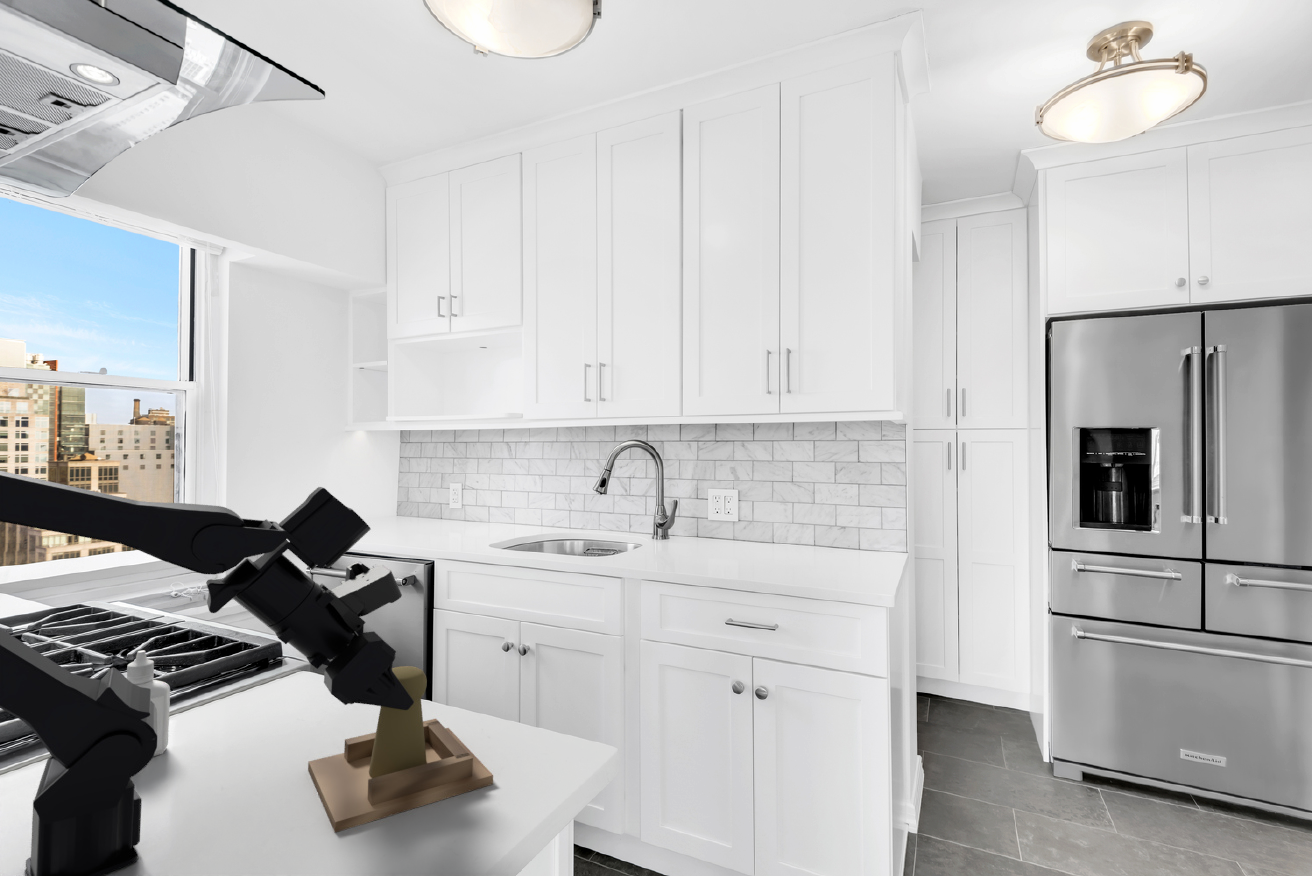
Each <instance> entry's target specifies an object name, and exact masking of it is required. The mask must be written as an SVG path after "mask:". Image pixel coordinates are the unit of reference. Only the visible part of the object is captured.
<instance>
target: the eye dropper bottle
mask: <svg viewBox="0 0 1312 876" xmlns="http://www.w3.org/2000/svg"><path fill="white" fill-rule="evenodd" d="M146 653H147V652H146V650H138V651H137V652H136V656H135V659H134V661H132V662H130V663H128V664H127V668H126V670H127V671H126V678H127V679H128V680H129V681H130V682H131V683H133V684H135V685H137V686H139V687H144V688H149V689H151V701H152V702H153V703H154V705H155V707H156V709H157V748H156V751H155V753H154V756H153V757H156V756H160V755H162V754H163V753H165V751H166V749H167V747H168V744H169V732H170V731H169V727H170V707H171V706H170V703H171V702H170V701H171V687H170V685H169V684H168V683H166V682H165V681H162V680H157V679H154V674H155V673H154V671H155V669H154V668H155V667H154V666H155V661H154V660H152V659H148V658H147V654H146Z"/></svg>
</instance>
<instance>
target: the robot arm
mask: <svg viewBox="0 0 1312 876" xmlns="http://www.w3.org/2000/svg"><path fill="white" fill-rule="evenodd" d="M0 522H2V523H5V524H6V523H7V524H11V525H12V524H13V525H18V526H22V527H28V528H33V529H38V530H45V531H49V532H50V531H51V532H55V533H58V534H59V533H60V534H65V535H71V536H76V537H81V538H87V539H91V540H92V539H93V540H97V541H98V540H99V541H101V542H102V541H104V542H110V543H114V544H120V545H123V546H125V547H129V548H131V549H134V550H137V551H140V552H141V553H144V554H147V555H149V556H151V557H154V558H155V559H159V560H160V561H163V562H166V563H168V564H172V565H175V566H178V567H179V568H183V569H186V570H189V571H191V572H194V573H198V574H202V575H219V574H223V573H226V572H227V571H229V570H231V571H230V572H229V573H228V574H227V575H225V576H224V577H223V578H217V579H207V580H206V582H205V584H206V588H207V589H208V590H207V591H208V595H207V596H208V597H207V601H206V604H207V607H208V611H209V613H211V614H216V613H218V612H219V611H220V610H222V609H223V608H224V606H226V605H227V604H228V603H229V602H230V601H231V600H233V601H235V602H237V603H238V604H239V606H241V607H243V608H244V609H245V610H246V611H247V612H248V613H251V614H252V615H253V616H254V617H255V618H256V619H258V620H259V621H260V622H262V623H263V624H264V625H265V626H266V627H268V629H270V630H271V631H273V633H275V635H276V637H277V638H278V640H280V641H281V642H283V644H284V645H288V644H289V645H290V646H291V647H293V648H294V649H295V650H297V651H298V652H299V653H300V654H302V655H303V656H304V657H305V658H306V660H307V661H308V663H309V665H311V666H313V668H316V670H319V668H320V667H321V666H322V665H324V666H326V667H325V668H324V675H323V676H324V677H323V683H324V685H325V686H326V688H327V690H328V691H329V693H330V694H331V695H332V697H334V698H336V699H337V700H338V701H339V702H341V703H342V704H343V705H344V706H347V705H353V704H360V705H361V704H362V705H368V706H369V705H371V706H378V707H381V706H383V707H389V708H395V709H401V710H408V709H409V708H410V707H411V706H412V705H413V703H414V700H413V699H412V698H411V696H410V695H409V693H408V692H407V691H406V689H405V688H404V687H403V685H402V684H401V682H400V681H399V680H398V678H397V677H396V675H395V674H394V673H393V671H392V668H393V663H394V661H395V659H396V653H397V651H396V650H395V648H393V647H392V646H391V645H390V644H389V643H388V642H387V641H385V640H384V639H383V638H382V637H381V636H380V635H379V634H378V633H376V631H374V630H373V631H367V632H364V625H365V624H366V621H365V620H364V619H363V618H362V617H364V616H366V615H369V614H372V613H373V612H374V611H376V610H378V609H380V608H382V607H385V606H386V605H388V604H394V603H395V602H397V601H398V600H399V599H401V598H402V596H403V595H402V592H401V590H400V588H399V585H398V582H397V580H396V579H395V576H394V574H393V572H392V570H391V569H390V568H388V567H387V566H385V565H384V564H380V565H377V564H375V565H373V566H372V568H370V567H368V566H367V565H365V564H364V563H362V562H361V561H356V562H354V563H352V564H350V565H348V566H347V565H346V569H345V579H344V580H342V581H340V585H338V586H336V587H334V588H332V589H330V588H328V587H327V586H325V584H323V583H320V584H319V583H318V582H316V581H315V580H314V579H312V578H311V577H310V576H308V575H307V574H306V573H305V571H303V570H302V569H300V568H299V567H298V565H296V564H295V563H294V562H292V561H291V559H289V558H287V557H286V555H284V553H285V552H286V551H287V550H289V551H290V552H291V553H292V554H293V555H294V556H295V557H297V558H298V559H299V560H300V561H301V562H302V563H304V564H305V565H306V566H307V567H308V568H309V569H311V570H312V571H313V570H315V568H316V567H319V569H323V567H324V566H325V567H326V568H328V569H330V568H331V567H332V566H333V565H334V564H336V563H337V561H338V560H340V559H341V558H342V557H343V556H344V555H345V554H346V553H347V552H348V551H350V549H351V548H353V546H354V545H356V544H357V543H358V542H359V541H360V540H361V539H362V538H363V537H365V535H367V533H368V532H370V531H371V530H372V529H371V527H370V525H368V524H367V522H366V521H365V520H364V519H363V518H362V517H361V516H360V515H359V514H358V513H357V512H356V511H355V510H354V509H353V508H350V507H348V506H347V505H345V504H344V503H342V502H341V501H340V500H339V499H338V498H337V497H335V496H334V495H333V494H332V493H331V492H329V490H327V489H326V488H325V487H323V486H318V487H316V488H315V490H313V491H312V492H311V493H309V495H308V496H307V498H306V499H305V500H304V501H303V502H302V503H300V505H299V506H298V507H296V508H295V509H294V510H293V511H291V513H290V514H288V515H287V516H286V517H285V518H284V519H282V520H281V521H280V522H279V523H278V522H277V521H274V520H273V521H272V520H268V519H264V520H260V519H251V518H242V517H241V516H239V514H238V513H236V512H235V511H234V510H232V509H231V508H228V507H225V506H221V505H208V504H198V503H197V504H196V503H181V502H160V501H159V502H156V501H142V500H136V499H131V498H125V497H122V496H117V495H112V494H107V493H104V492H100V491H95V490H90V489H85V488H81V487H75V486H72V485H66V484H63V483H59V482H55V481H49V480H44V479H42V478H41V479H40V478H36V477H31V476H26V475H23V474H17V473H13V472H7V471H4V470H0ZM258 555H259V556H260V557H258V558H257V559H255V560H254V561H253V560H252V559H250V558H249V557H255V556H258ZM233 568H234V569H233ZM0 709H1V710H3V711H4V712H6V713H8V714H10V715H12V717H15V718H16V719H18V720H20V721H22V722H24V723H25V724H26V725H27V726H28V727H29V728H30V729H31V730H32V732H33V733H34V735H36V736H37V738H38V739H39V741H40V742H41V743H42V745H43V746H44V747H45V749H46V750H47V751H48V753H49V754H50V756H49V757H48V758H47V760H46V764H45V766H44V769H43V772H42V775H41V779H40V781H39V784H38V787H37V790H36V794H35V797H34V799H33V800H32V818H31V819H32V821H31V843H30V845H31V847H30V857H28V858H27V859H26V860H25V868H26V871H27V874H28V876H103V875H105V874H109V873H111V872H113V871H116V870H119V869H121V868H125V867H127V866H129V865H131V864H135V863H136V862H137V861H138V859H139V856H138V855H139V854H138V853H137V851H136V848H135V846H138V844H139V843H140V840H141V821H142V801H143V800H142V798H141V797H140V795H139V794H138V792H137V791H136V790H135V783H134V782H133V781H132V779H131V778H132V777H134V776H136V775H137V774H138V773H140V772H141V771H143V770H144V769H145V768H146V766H147V765H148V764H149V763H150V762H151V761H152V760H153V758H154V757H155V756H154V753H155V751H156V748H157V709H156V707H155V705H154V703H153V702H152V701H151V689H149V688H144V687H139V686H137V685H135V684H133V683H131V682H130V681H129V680H128V679H127V676H125V675H124V674H123V673H122V672H121V671H120V670H118V669H117V668H115V667H111V668H110V669H109V670H108V671H107V672H106V673H105V675H104V676H103V677H102V678H101V679H96V678H91V677H86V676H83V675H78V674H75V673H73V672H71V671H69V670H68V669H66V668H65V667H62V666H61V665H59V663H56V662H55V661H53V660H52V659H50V658H48V657H46V656H45V655H43V654H42V653H40V652H39V651H37V650H35V648H32V647H30V646H29V645H27V644H26V643H24V642H23V641H21V640H19V639H18V638H16V637H14V636H13V635H11V634H9V633H8V632H7V631H5V630H3V629H2V628H0Z"/></svg>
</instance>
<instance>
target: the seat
mask: <svg viewBox="0 0 1312 876" xmlns="http://www.w3.org/2000/svg"><path fill="white" fill-rule="evenodd" d="M423 728H424V739H425V750H426V760H427V764H423V765H420V766H416V767H412V768H409V769H405V770H401V771H397V772H394V773H390V774H386V775H383V776H379V777H375V778H372V777H370V775H369V768H370V763H371V757H372V752H373V746H374V741H375V735H376V731H375V732H372V733H366V734H363V735H358V736H354V737H350V738H345V739H344V750H343V751H344V752H342V753H337V754H334V755H329V756H326V757H322V758H318V759H314V760H309V761H308V763H307V771H308V773H309V775H310V778H311V780H312V782H313V785H314V787H315V789H316V792H317V794H318V796H319V799H320V801H321V803H322V806H323V808H324V810H325V812H326V815H327V818H328V819H329V820H328V821H329V822H330V824H331V827H332V829H333V831H334V833H338V832H342V831H345V830H347V829H351V828H355V827H357V826H361V825H364V824H367V823H370V822H373V821H374V822H375V821H377V820H381V819H383V818H387V817H390V816H394V815H396V814H400V813H403V812H407V811H410V810H412V809H413V810H414V809H416V808H419V807H422V806H426V805H428V804H432V803H436V802H438V801H442V800H446V799H448V798H452V797H455V796H458V795H462V794H465V793H468V792H473V791H474V790H478V789H482V788H484V787H487V786H490V785H493V784H494V774H493V773H492V772H491V771H490V770H489V769H488V768H487V767H486V766H485V765H484V763H482V761H481V760H480V759H479V758H478V757H477V756H476V755H475V754H474V753H473V752H472V751H471V750H470V749H469V748H468V747H467V745H465V743H463V741H462V740H461V739H460V738H459V737H458V735H456V734H455V733H454V732H453V731H452V730H451V729H450V727H445V726H444V725H443V724H442V723H441V722H440V721H439V720H438V719H437V718H432V719H428V720H423Z"/></svg>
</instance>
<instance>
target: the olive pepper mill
mask: <svg viewBox="0 0 1312 876" xmlns="http://www.w3.org/2000/svg"><path fill="white" fill-rule="evenodd" d="M392 671H393V673H394V674H395V675H396V677H397V678H398V680H399V681H400V682H401V684H402V685H403V687H404V688H405V689H406V691H407V692H408V693H409V695H410V696H411V698H412V699H413V700H414V703H413V705H412V706H411V707H410V708H409V709H408V710H401V709H395V708H389V707H383V706H380V710H379V713H378V718H377V719H378V721H377V725H376V731H375V732H376V735H375V741H374V746H373V752H372V757H371V763H370V768H369V775H370V777H372V778H375V777H379V776H383V775H386V774H390V773H394V772H397V771H401V770H405V769H409V768H412V767H416V766H420V765H423V764H427V760H426V750H425V739H424V728H423V721H424V720H423V718H424V717H423V707H422V697H423V696H424V695H425V692H426V689H427V683H428V682H427V681H428V680H427V676H426V674H425V672H424V670H423V669H421V668H418V667H417V666H411V665H405V666H404V665H401V666H395V667H392Z"/></svg>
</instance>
